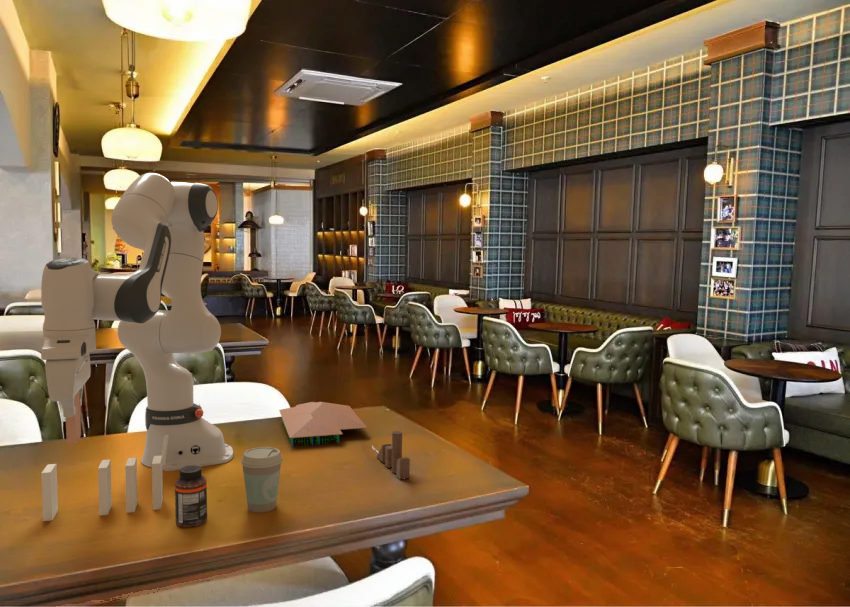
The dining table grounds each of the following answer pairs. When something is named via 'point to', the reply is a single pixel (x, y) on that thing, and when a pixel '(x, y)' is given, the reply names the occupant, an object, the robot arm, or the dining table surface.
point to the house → (319, 421)
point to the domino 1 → (74, 423)
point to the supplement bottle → (191, 497)
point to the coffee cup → (261, 477)
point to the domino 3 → (131, 484)
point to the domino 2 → (104, 487)
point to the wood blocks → (395, 456)
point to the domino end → (49, 492)
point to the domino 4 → (157, 482)
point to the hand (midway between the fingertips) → (73, 411)
